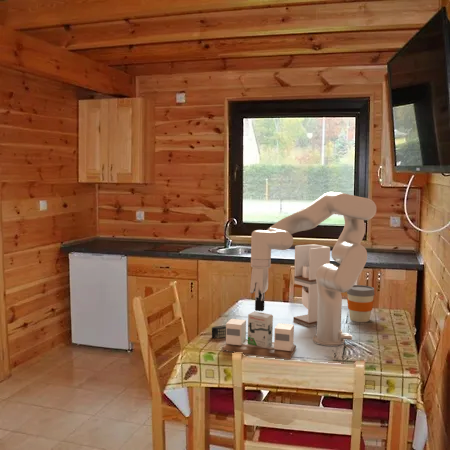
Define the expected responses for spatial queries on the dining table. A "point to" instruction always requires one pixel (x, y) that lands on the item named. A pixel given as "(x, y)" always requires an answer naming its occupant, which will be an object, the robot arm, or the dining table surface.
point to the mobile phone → (219, 332)
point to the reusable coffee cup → (360, 302)
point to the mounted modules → (281, 338)
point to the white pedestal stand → (309, 278)
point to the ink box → (260, 329)
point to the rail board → (260, 350)
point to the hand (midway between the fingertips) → (259, 310)
